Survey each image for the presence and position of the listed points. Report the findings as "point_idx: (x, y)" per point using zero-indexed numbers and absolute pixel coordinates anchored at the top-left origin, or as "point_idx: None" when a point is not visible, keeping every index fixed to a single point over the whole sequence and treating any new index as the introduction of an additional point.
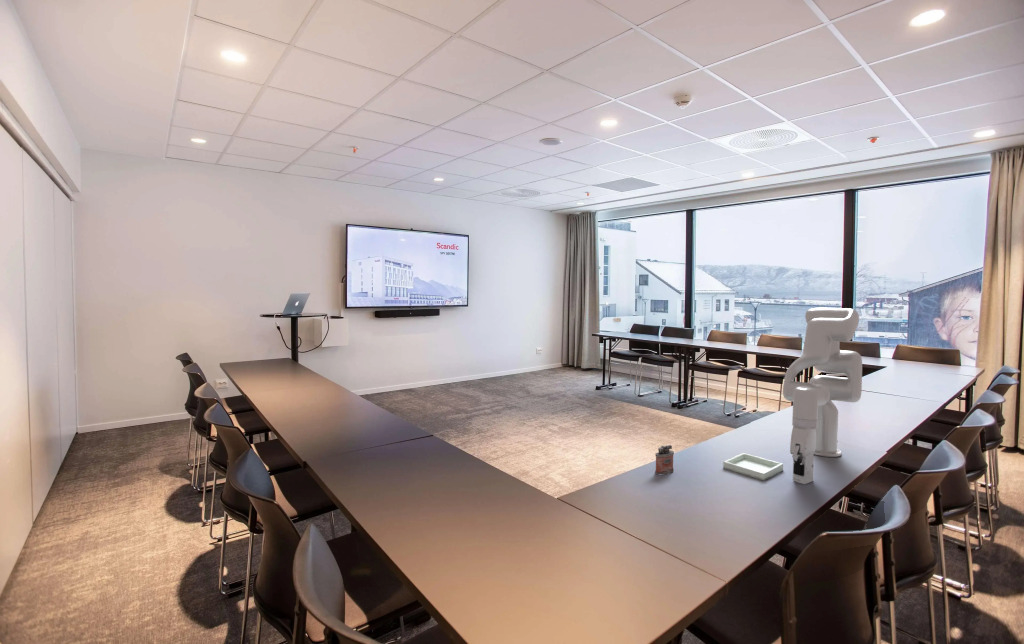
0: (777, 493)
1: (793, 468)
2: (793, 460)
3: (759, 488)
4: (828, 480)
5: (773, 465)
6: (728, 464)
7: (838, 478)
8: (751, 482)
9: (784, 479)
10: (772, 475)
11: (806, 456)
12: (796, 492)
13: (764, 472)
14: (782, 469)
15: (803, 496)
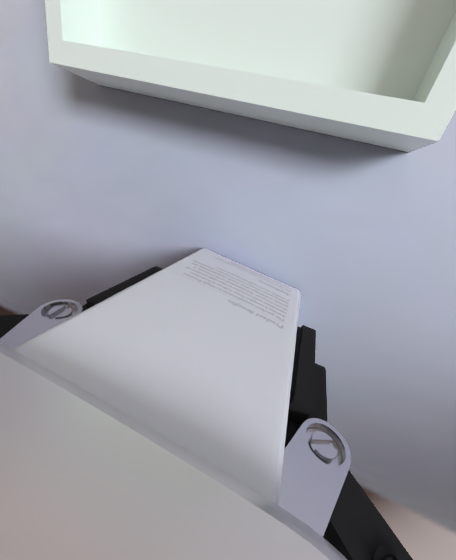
0: (24, 198)
1: (159, 273)
2: (103, 302)
3: (4, 104)
4: (327, 413)
5: (454, 22)
6: None
7: (393, 465)
8: (27, 22)
9: (200, 199)
10: (209, 107)
11: None
12: (87, 268)
13: (72, 53)
14: (400, 147)
15: (74, 292)
